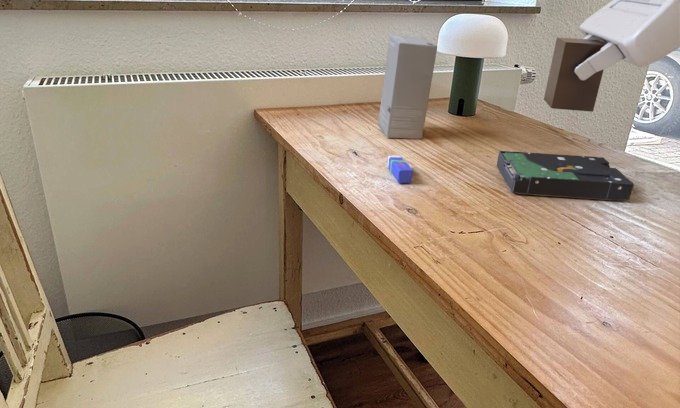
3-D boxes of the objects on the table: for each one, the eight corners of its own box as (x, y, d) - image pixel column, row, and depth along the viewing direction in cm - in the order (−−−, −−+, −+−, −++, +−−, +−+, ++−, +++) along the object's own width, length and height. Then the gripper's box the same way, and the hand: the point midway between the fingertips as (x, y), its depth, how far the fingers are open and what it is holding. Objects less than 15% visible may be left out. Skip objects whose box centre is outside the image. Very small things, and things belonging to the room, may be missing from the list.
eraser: (400, 168, 73) (401, 154, 72) (411, 183, 67) (413, 169, 66) (386, 168, 72) (387, 154, 71) (397, 184, 67) (398, 169, 66)
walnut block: (582, 102, 68) (598, 39, 64) (593, 111, 63) (610, 44, 60) (543, 99, 68) (556, 37, 65) (551, 108, 64) (565, 42, 61)
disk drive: (597, 174, 74) (494, 167, 74) (602, 156, 73) (498, 148, 73) (630, 204, 64) (511, 195, 65) (636, 183, 63) (515, 174, 64)
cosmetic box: (377, 125, 93) (383, 34, 86) (415, 125, 93) (425, 35, 87) (386, 139, 85) (394, 40, 78) (427, 139, 86) (439, 41, 79)
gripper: (632, -31, 67) (540, 41, 73) (706, -33, 49) (575, 64, 54) (658, 7, 69) (565, 75, 74) (740, 19, 50) (609, 108, 56)
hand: (570, 70), depth 64 cm, fingers closed on walnut block, 5 cm apart
